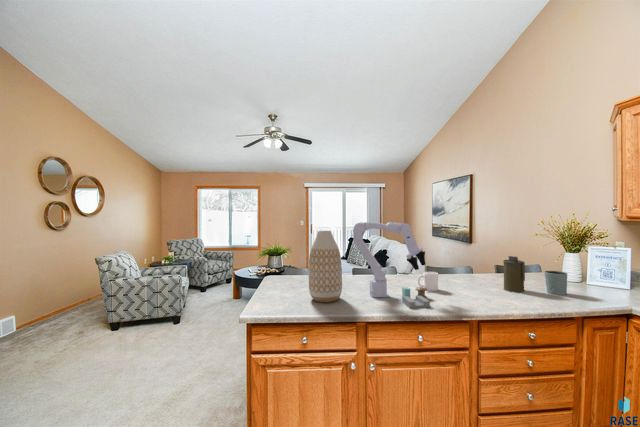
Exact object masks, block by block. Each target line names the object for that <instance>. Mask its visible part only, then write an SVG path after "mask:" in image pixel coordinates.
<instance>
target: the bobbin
mask: <svg viewBox="0 0 640 427" xmlns="http://www.w3.org/2000/svg"><path fill="white" fill-rule="evenodd" d="M415 291H417V295H416V296H423V297H424V298H426V299H427V300H428V296H427V295H426V293H425V292H427V288H424V287H421V286H418V287H415Z"/></svg>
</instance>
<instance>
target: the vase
mask: <svg viewBox="0 0 640 427" xmlns="http://www.w3.org/2000/svg"><path fill="white" fill-rule="evenodd" d="M315 236H316V237H315V238H314V240H313V242H312V245H311V248H310V251H309V257H308V258H309V259H308V291H309V295H310V296H311V298H312V299H313V300H314V301H316V302H317V303H324V302H326V303H331V302H332V303H333V302H335V301H337V300H339V298H340V297H341V296H342V291H343V276H342V275H343V271H342V270H343V268H342V258H341V253H340V249H339V246H338V243H337V242H336V240H335V237H334V235H333V233H332V230H318V231H317V233H316V235H315Z"/></svg>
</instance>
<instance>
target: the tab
mask: <svg viewBox="0 0 640 427" xmlns="http://www.w3.org/2000/svg"><path fill="white" fill-rule="evenodd" d="M401 292H402V293H401V296H408V297H409V298H411V288H409V287H408V286H402V287H401Z"/></svg>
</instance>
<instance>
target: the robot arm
mask: <svg viewBox="0 0 640 427" xmlns="http://www.w3.org/2000/svg"><path fill="white" fill-rule="evenodd" d="M371 229H376V230H386V232H387V233H393V234H400V233H401V234H402V237H403V241H404V243H405V245H406V246H405V247H406V248H407V251H408V254H406V255H405V257H406V261H407V262H408V263H409V264H410V265H411V266H412V268H413V269H414V270H415V271H417V270H419V269H420V268H419V267H420V266H419V264H418V261H419V263H420V265H421V266H425V265H426V256H425V255H426V252H425V251H424V249H423V247H419V245H418V243H417V241H416V238H415V236H414V234H413V231H412V227H411V226H410V225H409V223H403V222H394V221H387V223H386V224H385V223H379V222H371V221H369V222H368V221H365V222H361V221H360V222H357V223H355V225H354V227H353V228H352V234H353V239H352V241H353V243H354V244H355V246H356V247H357V249H358V250H359V252H360V253H361V254H362V256H363V257H364V259H365V261H366V262H367V264H368V265H369V267H370V268H371V269H370V270H371V271H372V274H373V276H374V278H373V280H372V279H371V280H369V295H370V296H371V297H372V298H389V297H390V295H389V294H388V293H387V292H388V288H387V286H388V285H387V284H388V283H387V278H386V276H387V275H386V274H387V270H386V269H385V267H383V266H382V265H381V264H380V263H379V262H378V261H377V259H376V257H375V256H374V255H373V253H372V251H371V250H370V249H369V247H368V246H367V244H366V243H365V241H364V240H363V238H364V234H365V233H366V231H369V230H371Z"/></svg>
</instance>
